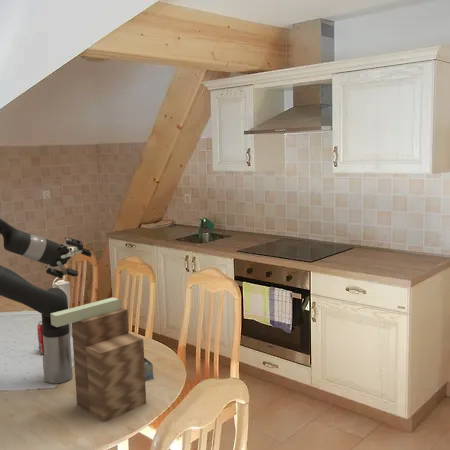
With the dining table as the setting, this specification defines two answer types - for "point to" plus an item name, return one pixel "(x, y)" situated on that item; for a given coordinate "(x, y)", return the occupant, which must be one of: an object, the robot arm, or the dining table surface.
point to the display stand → (108, 365)
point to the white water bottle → (66, 288)
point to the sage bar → (84, 312)
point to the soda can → (40, 337)
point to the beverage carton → (148, 369)
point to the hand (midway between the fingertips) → (84, 264)
